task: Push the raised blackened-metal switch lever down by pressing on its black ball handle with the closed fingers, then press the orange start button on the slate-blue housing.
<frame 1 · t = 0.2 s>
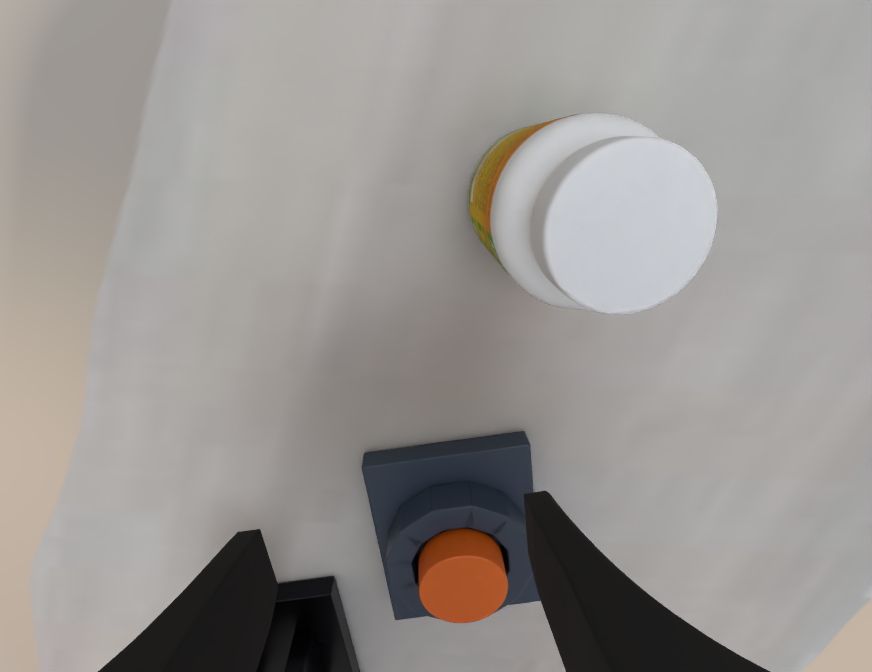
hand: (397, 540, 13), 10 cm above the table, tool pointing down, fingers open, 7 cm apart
switch bracket: (281, 643, 28), on the table
supplement bottle: (530, 197, 20), on the table
button box: (455, 522, 26), on the table
start button: (462, 575, 22), point 3 cm above the table, slide at 0.1 cm
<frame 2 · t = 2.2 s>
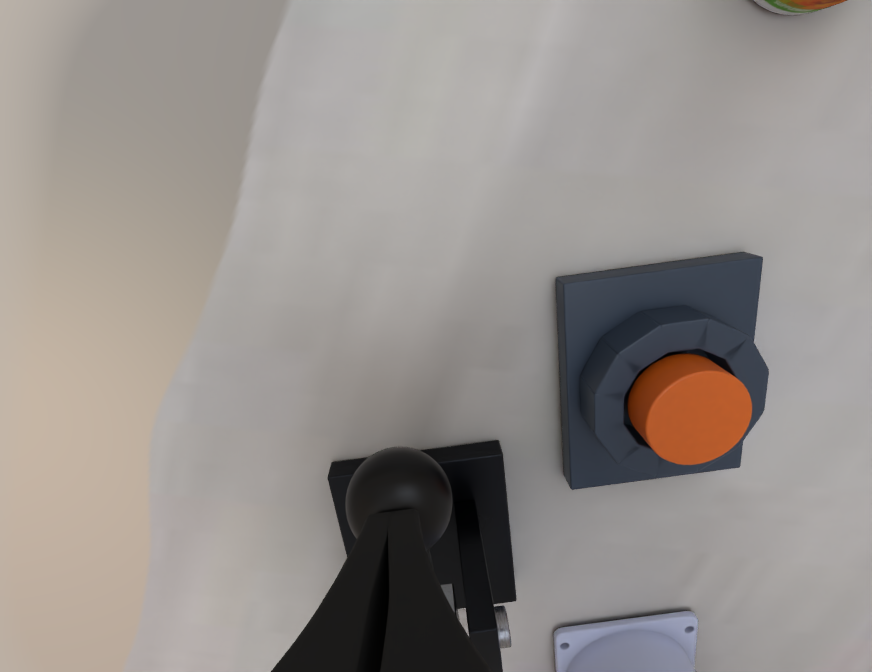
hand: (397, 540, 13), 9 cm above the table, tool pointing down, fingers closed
switch bracket: (427, 525, 24), on the table
switch lever: (417, 575, 17), point 7 cm above the table, hinge at 11.9°
button box: (646, 371, 22), on the table
start button: (687, 408, 19), point 3 cm above the table, slide at 0.1 cm
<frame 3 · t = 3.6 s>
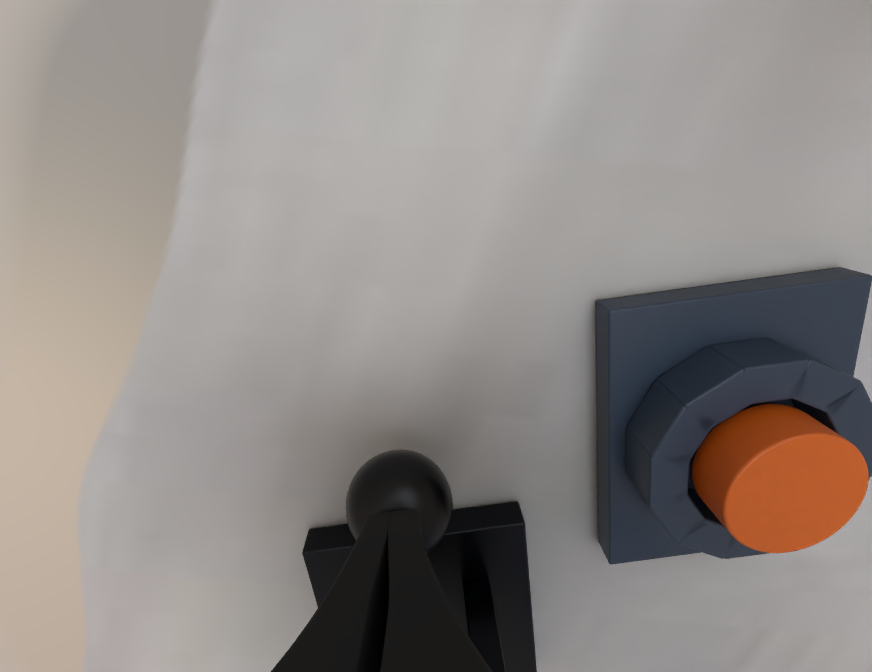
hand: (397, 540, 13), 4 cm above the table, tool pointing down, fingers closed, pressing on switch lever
switch bracket: (429, 602, 20), on the table
switch lever: (416, 635, 14), point 4 cm above the table, hinge at -23.2°, touching gripper
button box: (707, 417, 17), on the table
start button: (774, 477, 14), point 3 cm above the table, slide at 0.1 cm
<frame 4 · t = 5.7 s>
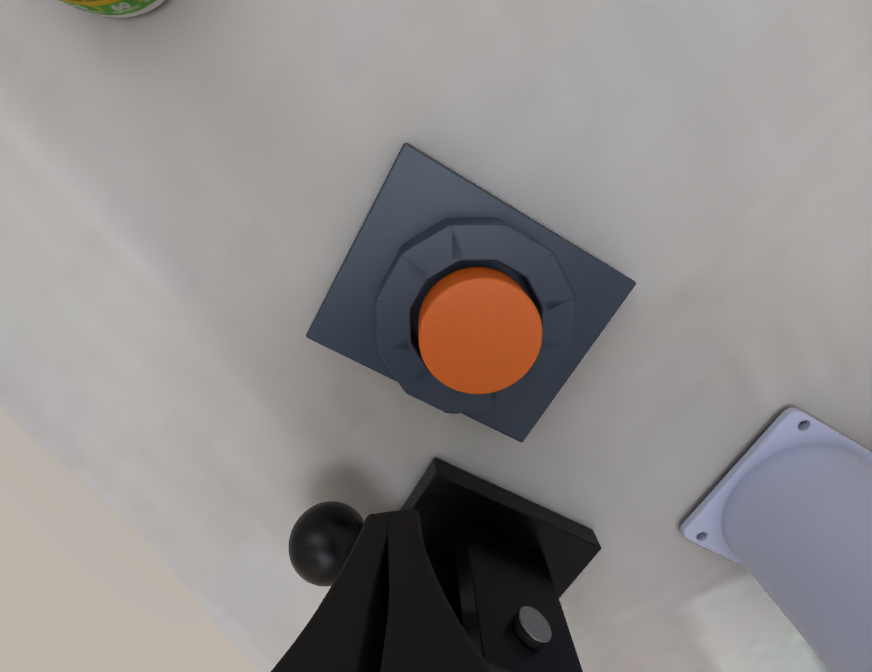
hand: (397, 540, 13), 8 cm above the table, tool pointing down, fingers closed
switch bracket: (473, 553, 24), on the table
switch lever: (405, 604, 19), point 4 cm above the table, hinge at -23.2°
button box: (467, 301, 19), on the table
start button: (477, 330, 16), point 3 cm above the table, slide at 0.1 cm
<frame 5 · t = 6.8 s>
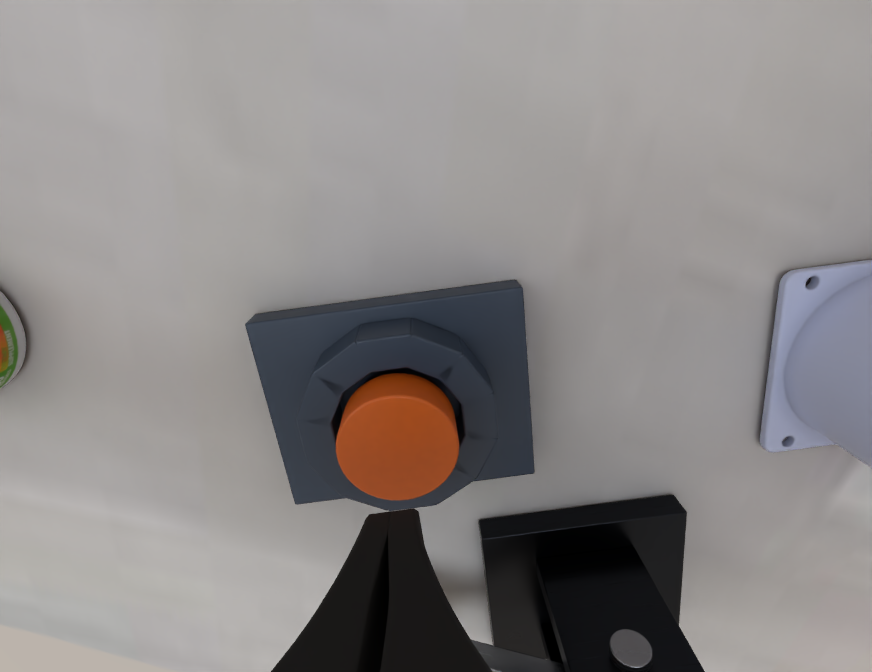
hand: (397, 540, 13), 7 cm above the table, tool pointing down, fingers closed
switch bracket: (577, 573, 23), on the table
button box: (401, 390, 20), on the table
start button: (398, 436, 16), point 3 cm above the table, slide at 0.1 cm
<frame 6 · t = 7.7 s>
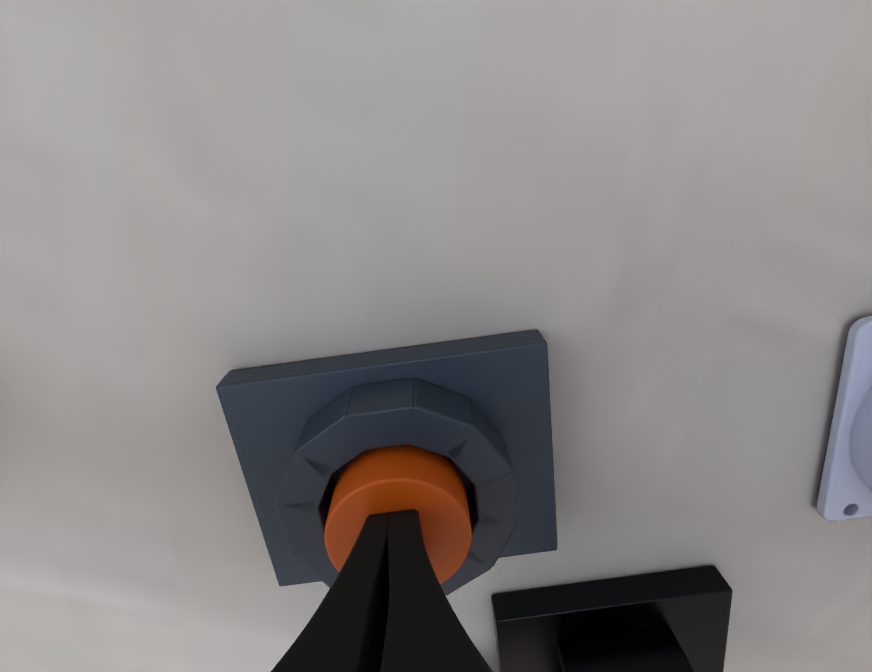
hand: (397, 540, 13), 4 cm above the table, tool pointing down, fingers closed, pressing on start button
switch bracket: (603, 649, 21), on the table
button box: (402, 454, 17), on the table
start button: (399, 518, 14), point 3 cm above the table, slide at -0.2 cm, touching gripper
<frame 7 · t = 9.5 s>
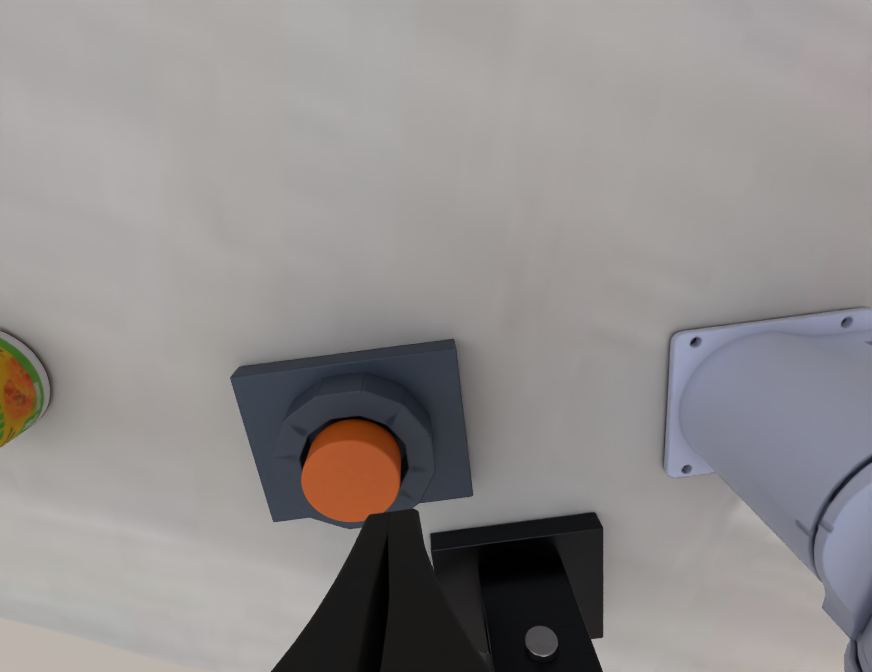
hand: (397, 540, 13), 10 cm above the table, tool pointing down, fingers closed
switch bracket: (517, 578, 27), on the table
switch lever: (458, 662, 23), point 4 cm above the table, hinge at -23.2°
button box: (361, 427, 24), on the table
start button: (353, 470, 20), point 3 cm above the table, slide at 0.1 cm
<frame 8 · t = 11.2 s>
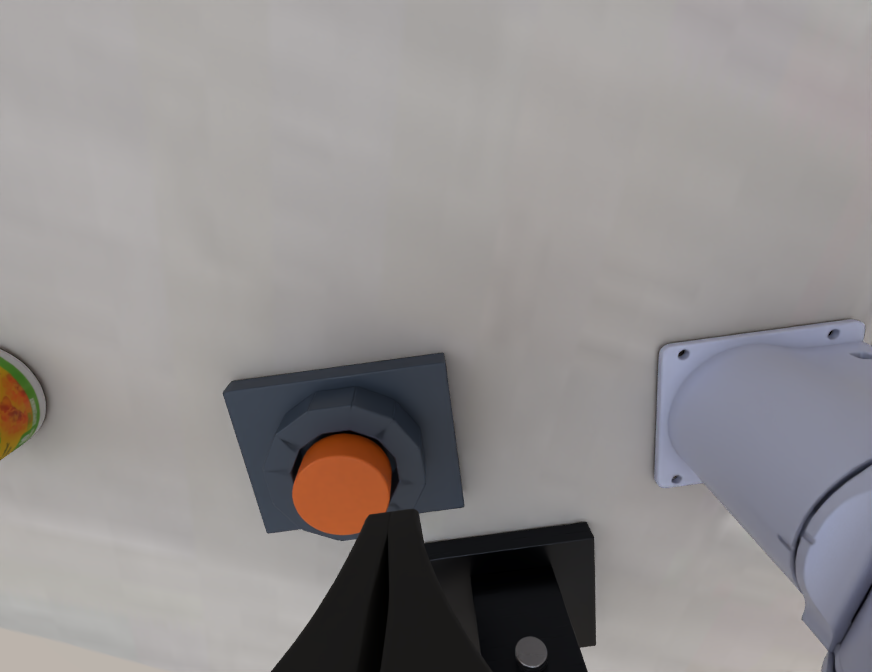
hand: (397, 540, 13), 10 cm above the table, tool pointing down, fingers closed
switch bracket: (510, 587, 28), on the table
button box: (353, 439, 24), on the table
start button: (344, 483, 21), point 3 cm above the table, slide at 0.1 cm
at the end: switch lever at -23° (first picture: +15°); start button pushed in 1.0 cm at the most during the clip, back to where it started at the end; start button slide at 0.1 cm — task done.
